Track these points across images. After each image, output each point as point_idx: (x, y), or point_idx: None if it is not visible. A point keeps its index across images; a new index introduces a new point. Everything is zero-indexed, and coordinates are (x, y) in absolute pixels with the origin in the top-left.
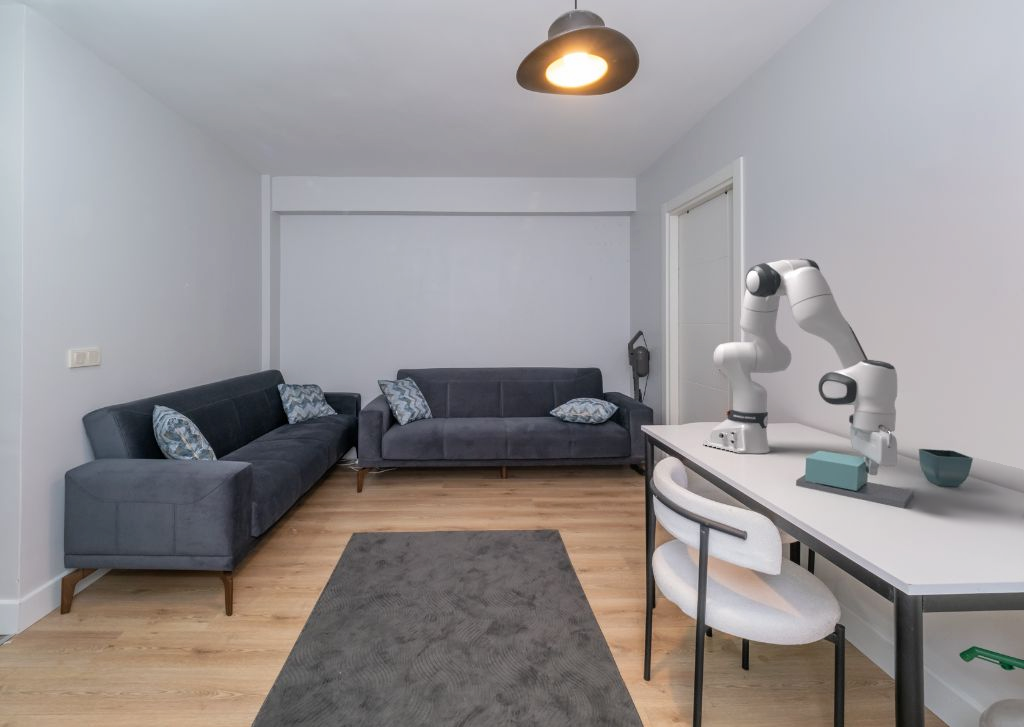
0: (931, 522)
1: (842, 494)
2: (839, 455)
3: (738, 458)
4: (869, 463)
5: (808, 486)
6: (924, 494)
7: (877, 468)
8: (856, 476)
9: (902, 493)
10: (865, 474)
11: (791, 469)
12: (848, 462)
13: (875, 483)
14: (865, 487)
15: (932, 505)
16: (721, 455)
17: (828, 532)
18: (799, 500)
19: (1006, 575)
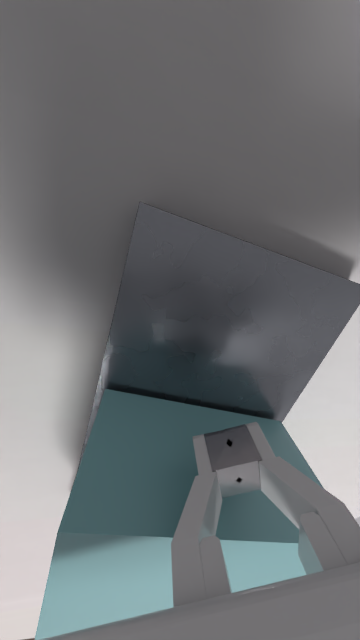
0: None
1: None
2: (94, 615)
3: (3, 609)
4: (216, 511)
5: None
6: (57, 125)
7: (283, 461)
8: (315, 481)
9: (231, 272)
10: (151, 433)
11: (22, 534)
12: (272, 576)
13: (105, 359)
14: (201, 394)
15: (271, 145)
16: (4, 627)
17: None
18: (335, 490)
19: None
